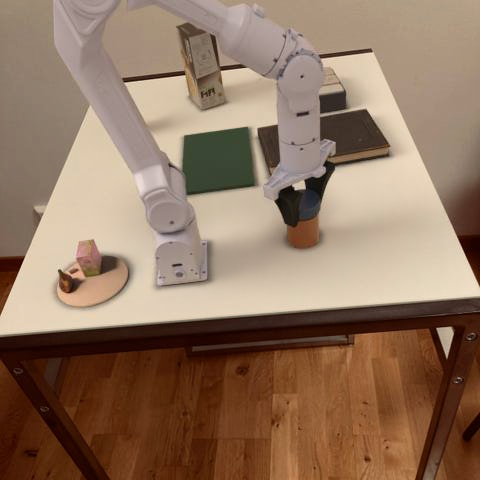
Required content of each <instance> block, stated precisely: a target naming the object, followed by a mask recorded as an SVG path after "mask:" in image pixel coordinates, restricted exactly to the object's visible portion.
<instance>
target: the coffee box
mask: <svg viewBox="0 0 480 480" xmlns="http://www.w3.org/2000/svg"><path fill="white" fill-rule="evenodd" d="M175 31H176V36H177V41H178V47H179V51H180V56H181V61H182V65H183V70H184V74H185V80H186V85H187V90H188V95H189V98H190V99H191V100H192V101H193V102H194V103H195V104H196V105H197V107H199V109H200V110H202V111H204V110H207V109H210V108H214V107H217V106H219V105H222V104H225V103H226V97H225V96H226V95H225V90H224V89H225V88H224V83H223V76H222V70H221V63H220V55H219V49H218V44H217V43H218V41H217V37H216V36H214V35H212V34H210V33H208V32H206V31H204V30H202V29H200V28H198V27H196V26H195V25H193V24H191V23H189V22H187V21H186V22H184V23H182V24H179V25H176V26H175Z"/></svg>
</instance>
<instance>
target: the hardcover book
mask: <svg viewBox="0 0 480 480" xmlns="http://www.w3.org/2000/svg"><path fill="white" fill-rule="evenodd" d="M256 130H257V139H258V141H259V144H260V147H261V151H262V154H263V158H264V161H265V164H266V167H267V171H268V174H269V178H270V177H271V175H272V174H273V172H274V171H275V169H276V168H277V166H278V164H279V163H280V148H279V134H278V123H276V124H272V125H266V126H261V127H257V128H256ZM324 139H327V140H330V141H333V142H336V148H335V154H334V155H333V156H328V157H327V161H330V162H333V163H335V167H336V166H341V165H347V164H353V163H358V162H365V161H369V160H376V159H381V158H386V157H387V158H388V157H390V153H389V148H390V147H391V144H390V143H389V141H388V140H387V138H386V137H385V135H384V134H383V132H382V130H381V129H380V128H379V126H378V125H377V122H376V121H375V119H374V118H373V117H372V115H371V113H370V112H369V111H368V108H362V109H356V110H355V109H354V110H350V111H344V112H339V113H333V114H328V115H322V116H321V115H320V142H321V141H323V140H324Z"/></svg>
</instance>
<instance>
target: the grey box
mask: <svg viewBox="0 0 480 480" xmlns="http://www.w3.org/2000/svg"><path fill="white" fill-rule="evenodd" d="M323 70H324V71H326V76H325V80H324V83H323V85H322V87H321V88H320V90H319V100H320V113H324V112H331V111H337V110H344V109H346V108H347V90H346V88H345V87H344V85H343V84H342V82H341V81H340V79H339V77H338V76H337V74H336V72H335V71H334V69H333V67H331V66H323Z"/></svg>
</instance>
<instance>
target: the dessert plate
mask: <svg viewBox="0 0 480 480" xmlns="http://www.w3.org/2000/svg"><path fill="white" fill-rule="evenodd" d="M75 259H76V261H77V262H76V263H74V264H73V265H71V266H70V267H68V268H67V270H65V271H63V270H62V269H61V268H59V269H57V273H58V277H59V279H58V283H57V286H56V290H57V291H56V293H57V296H58V298H59V300H60V301H62V302H63V303H65V304H66V305H68V306H71V307H77V308H89V307H94V306H98V305H100V304H103V303H106V302H107V301H110V300H111V299H113V298H114V297H116V296H117V295H118V294H120V292H122V290H123V289H124V288H125V286H126V285H127V283H128V281H129V278H130V268H129V267H128V265H127V263H126V262H125V261H124V260H122V259H121V258H118V257H116V256H113V255H107V254H105V255H104V254H102V255H101V253H100V251H99V248H98V246H97V243H96V241H95V239H86V240H79V241H78V245H77V250H76V255H75Z"/></svg>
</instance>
